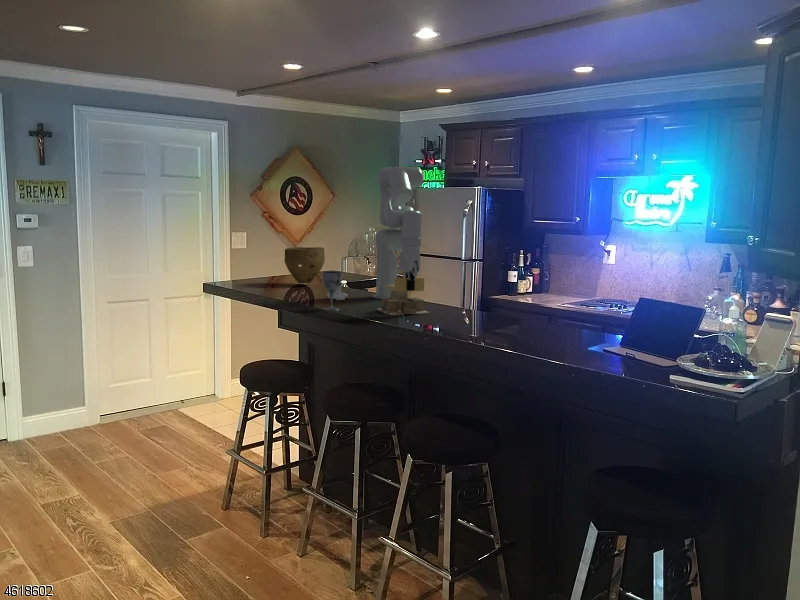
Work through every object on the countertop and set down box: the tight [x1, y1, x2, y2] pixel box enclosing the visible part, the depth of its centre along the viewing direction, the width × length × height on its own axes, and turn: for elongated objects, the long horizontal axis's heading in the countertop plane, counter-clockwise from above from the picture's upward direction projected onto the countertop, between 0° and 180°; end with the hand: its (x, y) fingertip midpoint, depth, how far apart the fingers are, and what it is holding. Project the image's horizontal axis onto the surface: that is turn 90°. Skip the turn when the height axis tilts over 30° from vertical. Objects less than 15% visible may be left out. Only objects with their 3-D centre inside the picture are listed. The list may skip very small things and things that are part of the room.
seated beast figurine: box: [326, 286, 348, 301], centre depth 291 cm, size 10×9×12 cm
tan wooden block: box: [385, 277, 425, 292], centre depth 258 cm, size 11×12×5 cm
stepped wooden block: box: [376, 285, 431, 316], centre depth 260 cm, size 15×17×10 cm
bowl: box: [284, 246, 325, 284], centre depth 337 cm, size 21×20×20 cm
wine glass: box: [321, 270, 343, 311], centre depth 261 cm, size 8×8×15 cm
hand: (409, 289), depth 254 cm, fingers closed on tan wooden block, 1 cm apart
